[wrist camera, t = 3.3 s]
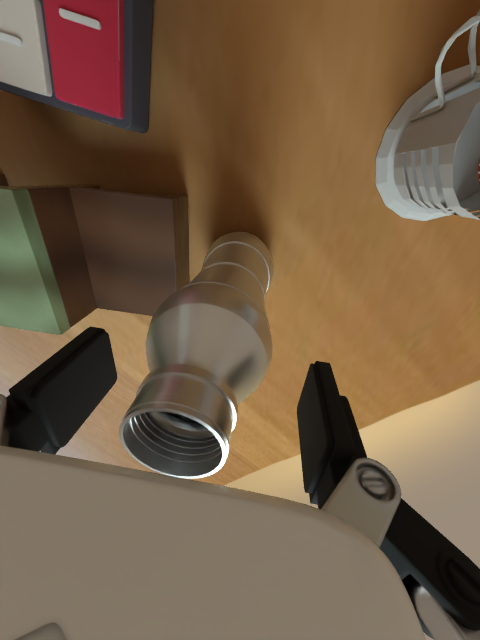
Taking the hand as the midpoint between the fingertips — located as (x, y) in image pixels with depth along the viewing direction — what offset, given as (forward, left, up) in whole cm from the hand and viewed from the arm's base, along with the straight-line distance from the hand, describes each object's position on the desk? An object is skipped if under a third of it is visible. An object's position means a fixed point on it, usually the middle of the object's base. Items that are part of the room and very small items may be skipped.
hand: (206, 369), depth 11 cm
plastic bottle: (0, 0, -16) cm, 16 cm away
